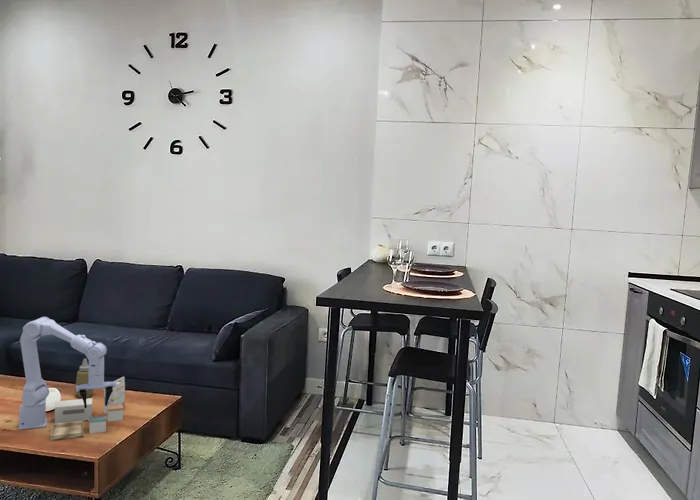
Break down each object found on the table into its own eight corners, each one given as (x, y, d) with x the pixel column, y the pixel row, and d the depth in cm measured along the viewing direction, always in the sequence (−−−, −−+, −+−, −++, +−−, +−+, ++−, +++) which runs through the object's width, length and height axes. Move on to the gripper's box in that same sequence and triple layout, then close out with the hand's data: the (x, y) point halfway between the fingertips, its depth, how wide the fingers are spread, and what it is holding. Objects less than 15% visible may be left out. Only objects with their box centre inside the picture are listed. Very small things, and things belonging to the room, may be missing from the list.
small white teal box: (89, 433, 225) (89, 420, 224) (89, 429, 228) (89, 416, 228) (105, 431, 227) (106, 418, 227) (105, 427, 231) (105, 414, 230)
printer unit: (54, 424, 231) (54, 407, 230) (55, 417, 238) (55, 401, 237) (91, 420, 237) (92, 404, 236) (91, 413, 244) (92, 397, 243)
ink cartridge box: (114, 406, 253) (115, 374, 252) (124, 407, 252) (125, 375, 251) (103, 413, 245) (103, 380, 244) (113, 414, 244) (113, 382, 243)
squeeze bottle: (97, 395, 264) (98, 358, 262) (81, 400, 257) (82, 362, 255) (87, 391, 268) (87, 355, 266) (71, 396, 261) (71, 358, 259)
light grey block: (107, 421, 237) (107, 409, 236) (107, 418, 240) (107, 405, 240) (123, 420, 239) (123, 407, 239) (122, 416, 243) (122, 404, 242)
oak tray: (50, 440, 216) (50, 435, 216) (51, 428, 227) (51, 424, 227) (83, 437, 221) (83, 432, 221) (83, 425, 232) (83, 420, 231)
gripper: (114, 368, 234) (113, 400, 236) (75, 372, 227) (75, 404, 228) (116, 374, 228) (115, 406, 229) (76, 378, 221) (76, 411, 222)
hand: (95, 406), depth 228 cm, fingers open, 7 cm apart
